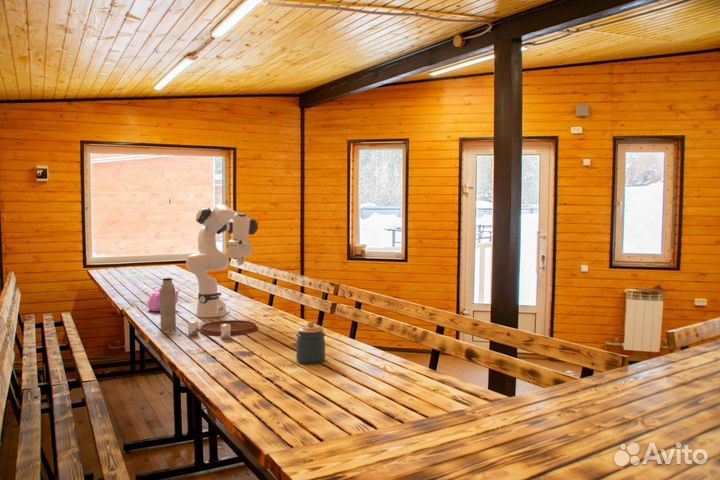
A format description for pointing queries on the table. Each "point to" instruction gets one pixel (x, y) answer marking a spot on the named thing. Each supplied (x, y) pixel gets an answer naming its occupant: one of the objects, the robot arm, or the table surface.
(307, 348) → the canister
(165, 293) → the thermos bottle
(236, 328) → the cutting board
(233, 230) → the robot arm
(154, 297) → the teapot
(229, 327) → the bench dogs
